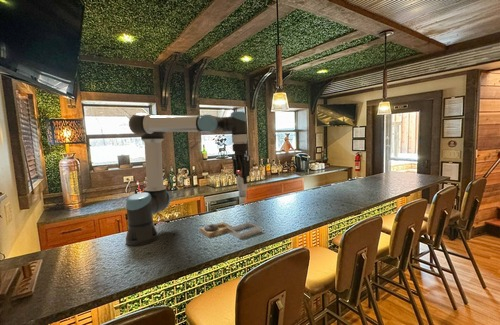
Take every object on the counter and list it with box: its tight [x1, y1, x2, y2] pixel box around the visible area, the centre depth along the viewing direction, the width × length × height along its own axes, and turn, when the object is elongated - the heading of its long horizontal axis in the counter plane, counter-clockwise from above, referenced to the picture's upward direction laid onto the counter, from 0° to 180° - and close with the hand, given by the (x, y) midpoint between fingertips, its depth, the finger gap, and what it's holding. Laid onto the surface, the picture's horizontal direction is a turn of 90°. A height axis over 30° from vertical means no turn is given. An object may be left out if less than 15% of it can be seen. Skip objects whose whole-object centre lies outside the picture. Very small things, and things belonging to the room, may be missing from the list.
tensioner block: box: [199, 222, 233, 238], centre depth 132 cm, size 14×10×5 cm
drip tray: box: [227, 222, 262, 240], centre depth 129 cm, size 13×11×3 cm
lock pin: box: [236, 170, 247, 198], centre depth 126 cm, size 5×5×14 cm
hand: (242, 189), depth 127 cm, fingers closed on lock pin, 4 cm apart
